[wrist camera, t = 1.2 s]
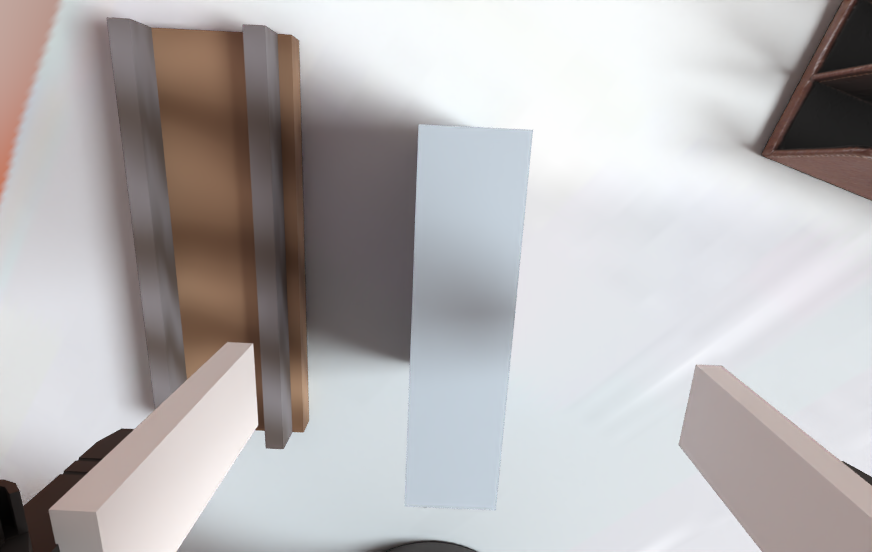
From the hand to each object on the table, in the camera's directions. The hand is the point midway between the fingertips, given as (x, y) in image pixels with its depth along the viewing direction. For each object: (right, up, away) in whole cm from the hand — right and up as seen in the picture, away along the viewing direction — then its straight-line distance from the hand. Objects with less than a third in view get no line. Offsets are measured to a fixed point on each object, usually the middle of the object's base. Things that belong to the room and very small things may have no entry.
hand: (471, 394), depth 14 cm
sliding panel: (0, +5, +18) cm, 19 cm away
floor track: (-15, +6, +18) cm, 24 cm away
